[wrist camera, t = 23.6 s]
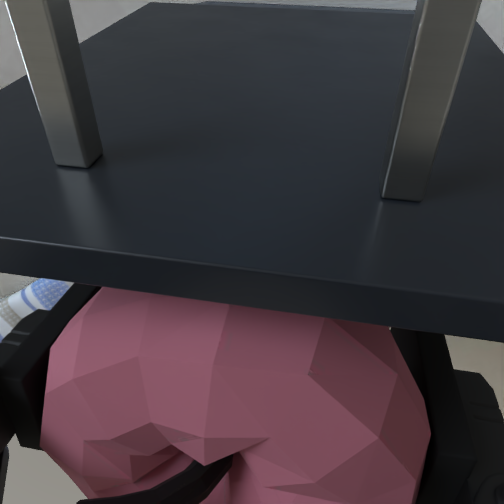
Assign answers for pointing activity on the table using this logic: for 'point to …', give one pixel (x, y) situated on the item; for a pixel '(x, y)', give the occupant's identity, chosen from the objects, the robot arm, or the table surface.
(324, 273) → the lid
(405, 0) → the table surface
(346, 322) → the apple
